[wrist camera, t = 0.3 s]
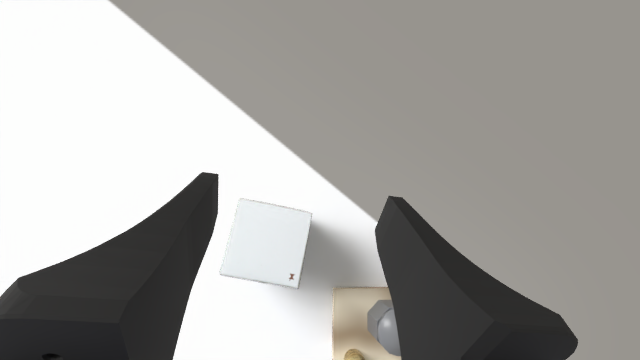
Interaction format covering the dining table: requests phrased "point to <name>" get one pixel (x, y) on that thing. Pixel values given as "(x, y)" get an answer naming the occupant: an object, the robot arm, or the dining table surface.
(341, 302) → the board
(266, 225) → the supplement box
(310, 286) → the dining table surface
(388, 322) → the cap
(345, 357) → the stud
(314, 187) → the dining table surface
